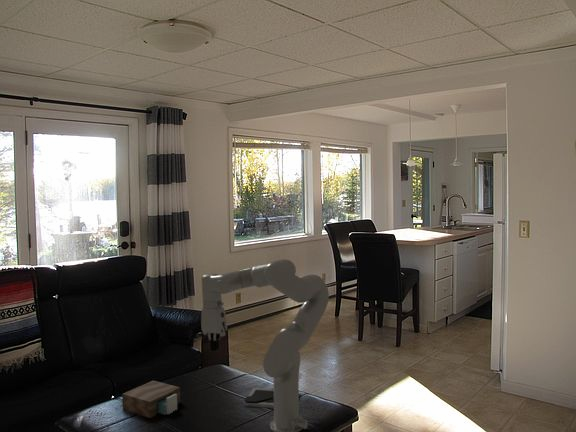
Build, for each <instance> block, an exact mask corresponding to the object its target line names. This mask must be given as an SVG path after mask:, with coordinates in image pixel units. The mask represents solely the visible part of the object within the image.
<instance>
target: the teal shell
mask: <svg viewBox="0 0 576 432" xmlns="http://www.w3.org/2000/svg"><path fill="white" fill-rule="evenodd" d="M156 408H157V414H161V415H164V416H165V415H170V414H172V413H173V411H174V412H175V410H176V411H177V410H178V404H177V394H173V395H171V396H166V397H164V398H162V399H160V400H158V401H156Z"/></svg>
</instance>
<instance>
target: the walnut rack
mask: <svg viewBox="0 0 576 432" xmlns="http://www.w3.org/2000/svg"><path fill="white" fill-rule="evenodd" d="M173 394H177V405H178V404H180V403H181V388H180V386H176V385H173V384H172V385H171V384H168V383H165V382H160V381H156V380H151V381H149V382H146V383H145V384H142V385H139V386H137V387H135V388H133V389H131V390H128V391H126V392H124V393H122V394H121V395H122V398H121V399H122V401H121V402H122V410H125V411H127V412H129V413H134V414H135V415H136V414H137V415H139V416H142V417H146V418H149V419H150V418H153V417H155V416H157V414H158V413H157V408H156V401H158V400H160V399H162V398H164V397H166V396H171V395H173Z"/></svg>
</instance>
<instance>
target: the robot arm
mask: <svg viewBox="0 0 576 432" xmlns="http://www.w3.org/2000/svg"><path fill="white" fill-rule="evenodd" d="M296 271H297V268H296V265H295V263H294V262H292V261H291V260H290V259H279V260H275V261H271V262H270V261H269V262H266V263H261V264H256V265H253V266H252V267H249V268H245V269H244V268H243V269H240V270H235V271H230V272H227V273H224V274H219V273H215V272H213V273H212V272H211V273H205V274H202V276H201V293H202V294H201V295H202V308H201V313H200V314H201V317H200V325H201V328H200V329H201V331H202V334H203V335H204V336H207V338H208V341H209V343H210V344H209V345H210V351H213V352H214V351H217V350H219V349H220V348H219V347H220V344H219V343H220V342H219V340H220V339H221V337H224V336H226V332H227V331H228V323H227V316H226V312H225V307H223V306H224V302H223V301H222V300H223V299H222V295H226V294H229V293H232V292H235V291H237V290H238V291H239V290H241V289H246V288H250V287H251V288H252V287H257V288H263V287H267V286H270V287H271V286H272V288H274V289H275V290H277V291H278V292H279V293H281V294H282V295H284V296H286V297H287V298H288V299H291V300H292V301H294V302H295V303H301V304H302V305H301V306H300V308H299V309H298V311H297V313H296V315H295V317H294V318H293V320H292V321H291V322H290V323H289V324H287V325H286V326H285V327H283V328H281V329H280V330H279V331H278V332H277V334H276V335H275V337H274V338H273V340H272V342H271V344H270V346H269V347H268V348H267V351H266V353H265V355H264V357H263V360H262V368H263V371H264V373H265V374H266V375H267V376H268V377H270V378H273V385H272V386H273V389H274V408H273V420H271V421H270V423H269V429H270V430H271V431H272V432H300V431H302V430H303V429H304V430H306V429H308V420H303V419H302V414H299V413H300V412H299V411H300V410H299V409H300V405H299V404H300V403H299V402H300V401H299V398H300V397H299V395H300V394H299V393H300V391H299V390H300V389H299V386H300V385H299V383H300V382H299V379H300V377H299V376H300V366H301V354H300V353H301V352H300V350H301V349H303V348H304V347H305V346H306V345H307V344H308V343H309V341H310V339H311V337H312V335H313V333H314V332H315V330H316V329H317V326H318V325H319V324H320V323H319V322H320V321H321V318H322V317H323V316H324V314H325V312H326V310H327V307H328V305H329V298H330V293H329V288H328V285H327V283H326V281H325V280H324V279H323V278H322V277H321V276H319V275H317V274H308V275H305V276H302V277H299V276H298V275H297V274H296Z"/></svg>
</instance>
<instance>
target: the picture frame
mask: <svg viewBox="0 0 576 432" xmlns="http://www.w3.org/2000/svg"><path fill="white" fill-rule="evenodd" d="M243 406H244V407H255V408H265V409H266V408H269V409H274V388H273V389H271V388H259V387H257V388H256V387H253V388H252V390H251V391H250V393H249V394H248V396H246V397H245V399H243Z"/></svg>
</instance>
